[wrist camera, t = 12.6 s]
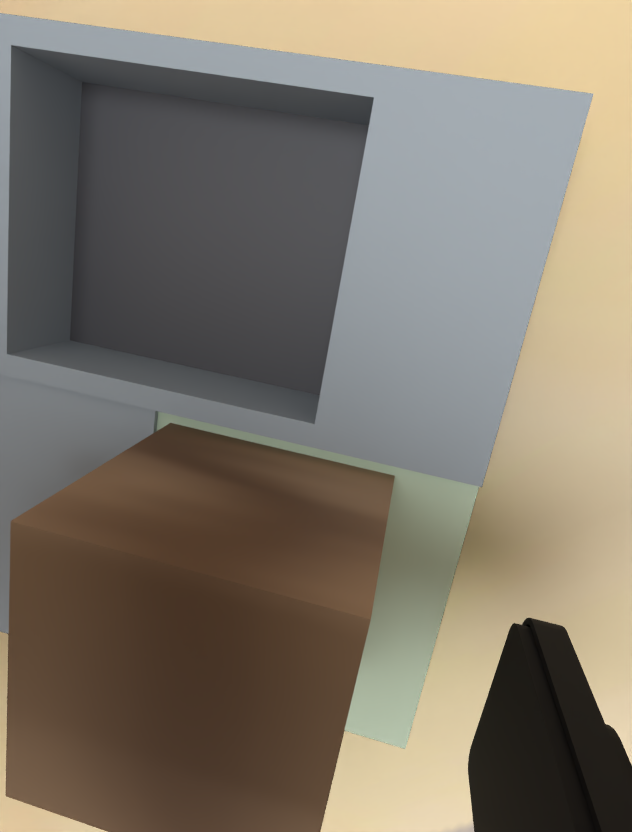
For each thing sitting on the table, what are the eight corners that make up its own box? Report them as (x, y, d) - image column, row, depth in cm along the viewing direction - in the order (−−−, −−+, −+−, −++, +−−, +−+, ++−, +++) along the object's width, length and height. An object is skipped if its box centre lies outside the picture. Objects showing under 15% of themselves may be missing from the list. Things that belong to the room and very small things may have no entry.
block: (150, 614, 14) (5, 796, 9) (170, 422, 12) (10, 521, 8) (349, 670, 13) (303, 899, 8) (395, 475, 12) (370, 619, 7)
